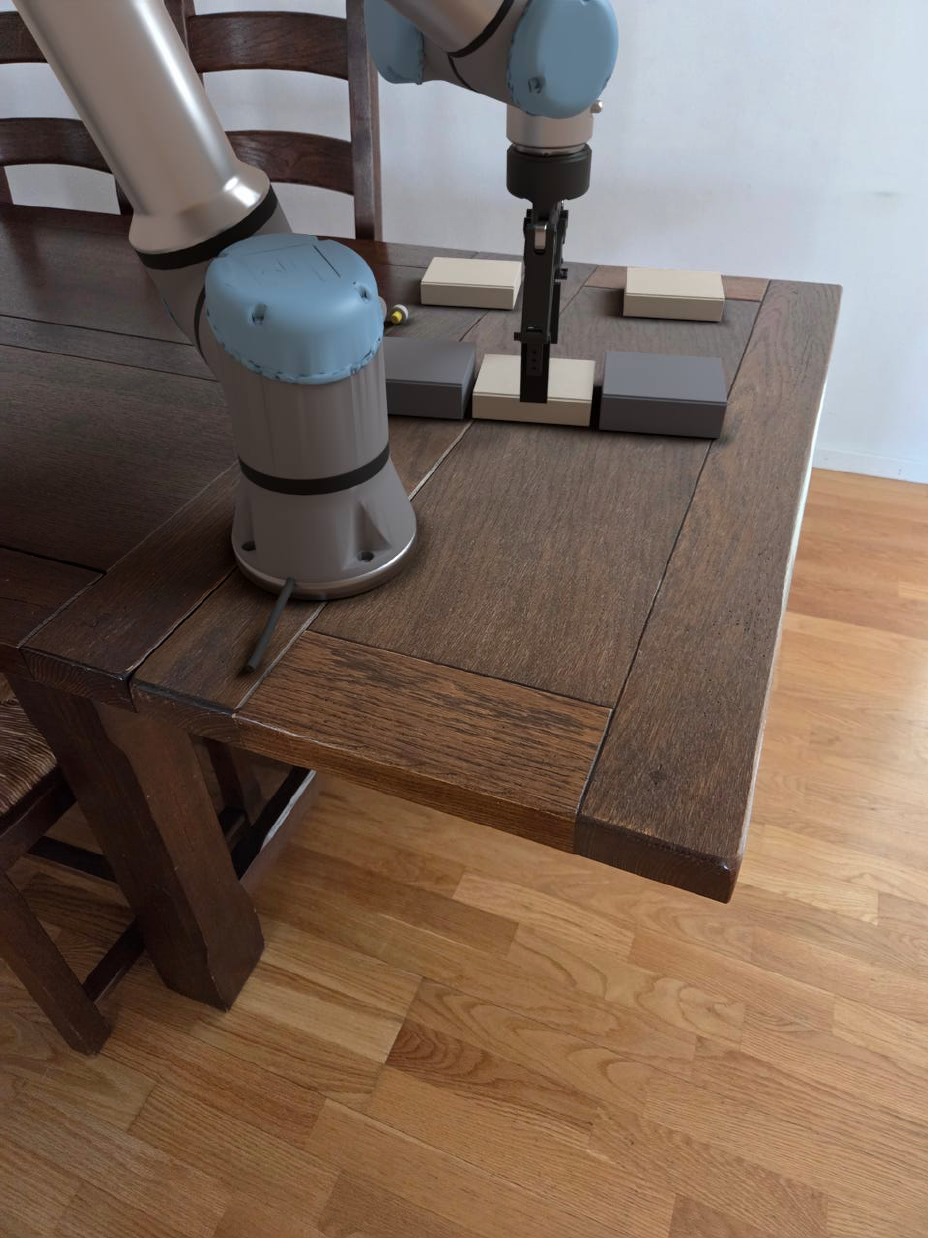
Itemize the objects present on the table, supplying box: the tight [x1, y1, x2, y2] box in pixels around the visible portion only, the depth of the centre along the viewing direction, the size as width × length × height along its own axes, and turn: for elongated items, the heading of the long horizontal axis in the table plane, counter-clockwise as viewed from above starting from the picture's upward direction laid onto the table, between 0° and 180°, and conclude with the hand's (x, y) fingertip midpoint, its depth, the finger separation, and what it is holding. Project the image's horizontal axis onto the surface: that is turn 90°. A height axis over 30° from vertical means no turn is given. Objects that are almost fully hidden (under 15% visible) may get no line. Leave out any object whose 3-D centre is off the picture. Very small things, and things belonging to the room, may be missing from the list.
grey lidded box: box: [383, 335, 478, 420], centre depth 92 cm, size 10×12×4 cm
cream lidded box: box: [622, 266, 726, 322], centre depth 110 cm, size 9×12×3 cm
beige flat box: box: [471, 353, 596, 427], centre depth 90 cm, size 9×12×3 cm
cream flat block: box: [420, 256, 523, 310], centre depth 113 cm, size 9×12×3 cm
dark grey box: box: [598, 350, 728, 439], centre depth 89 cm, size 10×12×4 cm
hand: (539, 370), depth 89 cm, fingers open, 13 cm apart
